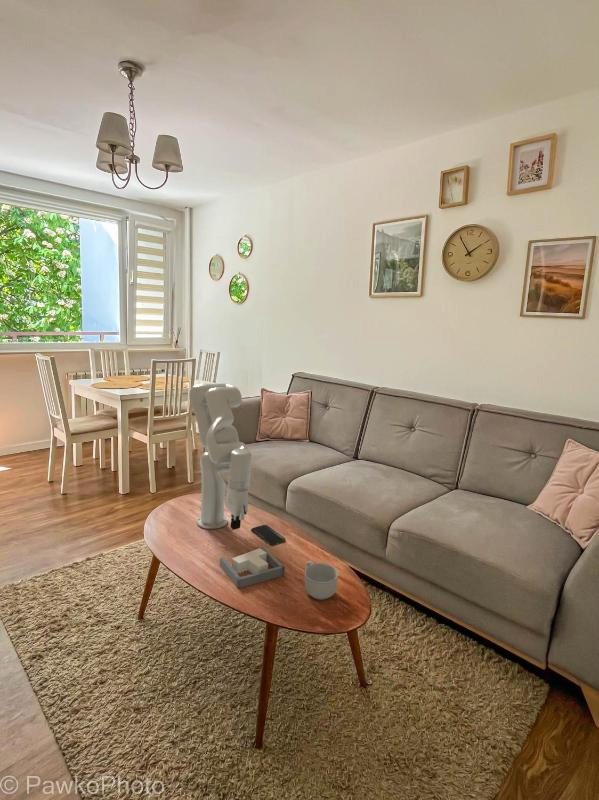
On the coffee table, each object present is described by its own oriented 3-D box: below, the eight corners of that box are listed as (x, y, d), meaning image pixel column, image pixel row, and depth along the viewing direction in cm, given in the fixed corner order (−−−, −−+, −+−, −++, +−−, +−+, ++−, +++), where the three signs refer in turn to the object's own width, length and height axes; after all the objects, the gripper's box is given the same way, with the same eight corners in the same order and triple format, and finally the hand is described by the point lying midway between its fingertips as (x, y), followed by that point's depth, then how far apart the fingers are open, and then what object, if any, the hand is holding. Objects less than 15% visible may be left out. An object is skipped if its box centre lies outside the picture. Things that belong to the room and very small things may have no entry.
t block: (231, 568, 154) (232, 558, 153) (259, 558, 162) (259, 548, 161) (248, 582, 147) (249, 571, 146) (276, 570, 155) (277, 559, 154)
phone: (265, 524, 187) (286, 539, 176) (265, 526, 188) (286, 541, 176) (249, 528, 183) (270, 544, 171) (249, 531, 183) (270, 547, 171)
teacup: (341, 602, 140) (343, 579, 138) (308, 606, 137) (310, 582, 135) (326, 577, 153) (328, 556, 151) (296, 580, 150) (297, 558, 148)
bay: (219, 565, 156) (220, 557, 155) (263, 554, 165) (264, 546, 164) (238, 588, 143) (238, 580, 143) (284, 575, 152) (284, 567, 152)
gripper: (221, 475, 164) (218, 520, 169) (237, 493, 152) (234, 540, 157) (239, 473, 168) (236, 516, 173) (257, 489, 156) (253, 536, 161)
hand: (235, 527), depth 165 cm, fingers closed
